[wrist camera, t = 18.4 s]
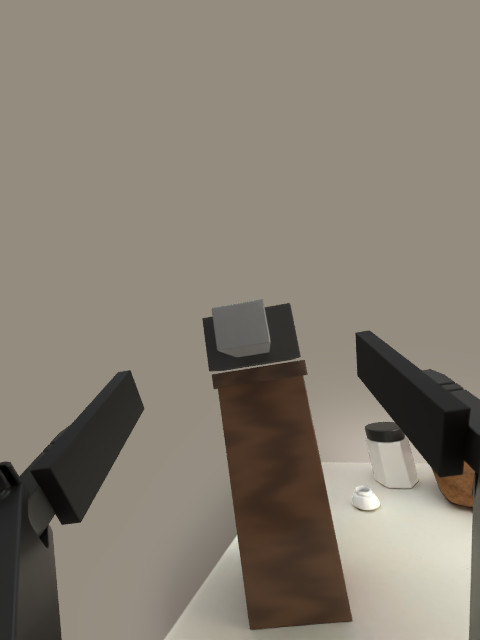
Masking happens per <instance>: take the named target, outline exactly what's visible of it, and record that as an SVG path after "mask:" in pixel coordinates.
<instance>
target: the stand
mask: <svg viewBox="0 0 480 640" xmlns="http://www.w3.org/2000/svg"><path fill="white" fill-rule="evenodd" d="M303 375H307V369H306V364H305V360H300V361H294V362H288V363H282V364H275V365H269V366H263V367H257V368H251V369H244V370H238V371H232V372H225V373H219V374H213V375H212V380H213V387H214V389H218V392H219V400H220V408H221V415H222V422H223V430H224V437H225V445H226V453H227V460H228V467H229V475H230V483H231V490H232V497H233V505H234V512H235V520H236V527H237V535H238V543H239V550H240V558H241V565H242V573H243V580H244V588H245V595H246V603H247V610H248V618H249V625H250V629H261V628H272V627H284V626H296V625H308V624H320V623H332V622H344V621H352V615H351V610H350V605H349V600H348V595H347V590H346V585H345V580H344V575H343V570H342V565H341V560H340V555H339V550H338V545H337V540H336V535H335V530H334V525H333V520H332V515H331V510H330V505H329V500H328V495H327V490H326V485H325V480H324V475H323V470H322V465H321V460H320V456H319V450H318V446H317V440H316V436H315V430H314V425H313V420H312V415H311V411H310V406H309V400H308V396H307V390H306V386H305V381H304V376H303Z"/></svg>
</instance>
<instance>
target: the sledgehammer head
mask: <svg viewBox="0 0 480 640" xmlns="http://www.w3.org/2000/svg"><path fill="white" fill-rule="evenodd" d="M212 315H213V317H208V318H203V327H204V335H205V342H206V350H207V357H208V366H209V371H224V370H231V369H236V368H242V367H249V366H256V365H262V364H268V363H274V362H280V361H287V360H292V359H295V358H299V357H301V356H300V351H299V346H298V341H297V336H296V331H295V326H294V321H293V316H292V311H291V306H290V303H287V304H281V305H276V306H270V307H264V303H263V300H262V299H261V300H255V301H249V302H244V303H238V304H233V305H228V306H222V307H216V308H212Z"/></svg>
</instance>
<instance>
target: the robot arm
mask: <svg viewBox="0 0 480 640" xmlns="http://www.w3.org/2000/svg"><path fill="white" fill-rule="evenodd" d="M356 352H357V375H358V377H359V378H360V379H361V380H362V382H363V383H364V384H365V386H366V387H367V388H368V389H369V391H370V392H371V393H372V394H373V395H374V397H375V398H376V399H377V400H378V402H379V403H380V404H381V405H382V407H383V408H384V409H385V410H386V412H387V413H388V414H389V415H390V417H391V418H392V419H393V420H394V422H395V423H396V424H397V425H398V427H399V428H400V429H401V430H402V431H403V433H404V434H405V435H406V436H407V438H408V439H409V440H410V441H411V443H412V444H413V445H414V446H415V448H416V449H417V450H418V451H419V453H420V454H421V455H422V456H423V458H424V459H425V460H426V461H427V463H428V464H429V465H430V466H431V467H432V469H433V470H434V471H435V472H436V474H437V475H438V476H439V477H448V476H456V475H463V470H464V461H465V462H466V463H467V464H468V465H469V466H470V467H471V468H472V469H473V470H474V471H475V474H474V481H473V488H472V496H473V523H472V557H471V592H470V626H469V640H480V399H478V398H477V397H475V396H474V395H472V394H471V393H470V392H468V391H467V390H464V389H463V388H462V387H461V386H460V385H458V384H457V383H456V384H455V382H454V381H452V380H451V379H450V378H448V377H447V376H445V375H444V374H441V373H439V372H436V371H434V370H431V369H429V370H423V371H422V370H420V369H419V368H418V367H416V366H415V365H414V364H412V363H411V362H410V361H409V360H407V359H406V358H405V357H403V356H402V355H401V354H399V353H398V352H397V351H396V350H394V349H393V348H392V347H390V346H389V345H388V344H386V343H385V342H384V341H383V340H381V339H380V338H378V337H377V336H376V335H375V334H373V333H372V332H371V331H364V332H358V333H356ZM143 410H144V406H143V403H142V401H141V398H140V395H139V393H138V390H137V387H136V384H135V382H134V379H133V376H132V373H131V371H130V370H129V371H123V372H118V373H117V374H116V375H115V376H114V378H113V379H112V380H111V381H110V382H109V383H108V384H107V385H106V386H105V387H104V389H103V390H102V391H101V392H100V393H99V394H98V395H97V396H96V397H95V399H94V400H93V401H92V402H91V403H90V404H89V405H88V407H86V409H85V410H84V411H83V412H82V413H81V414H80V415H79V416H78V418H77V419H76V420H75V421H74V422H73V423H72V424H71V425H70V426H68V427H67V428H66V429H65V430H63V431H62V432H60V433H59V434H58V435H57V436H56V437H55V438H54V439H53V441H52V442H51V443H50V445H48V446H47V447H46V448H45V449H44V450H43V452H42V453H41V454H40V455H39V456H38V457H37V458H36V459H35V460H34V461H33V462H32V464H31V465H30V466H29V467H28V468H27V469H26V470H25V471H24V472H23V473H22V474H21V475H20V477H19V475H18V474H17V472H16V471H15V469H14V467H13V466H12V464H11V462H1V463H0V640H62V639H61V627H60V615H59V603H58V591H57V580H56V568H55V556H54V545H53V533H52V529H51V527H50V526H49V523H50V521H51V520H52V518H53V517H54V515H55V514H56V516H57V517H58V519H59V521H60V522H61V524H62V525H64V524H72V523H80V522H81V521H82V519H83V518H84V516H85V514H86V512H87V510H88V508H89V507H90V505H91V503H92V501H93V499H94V498H95V496H96V494H97V492H98V491H99V489H100V487H101V485H102V484H103V482H104V480H105V478H106V476H107V475H108V473H109V471H110V469H111V467H112V465H113V464H114V462H115V460H116V459H117V457H118V455H119V453H120V451H121V449H122V448H123V446H124V444H125V442H126V440H127V439H128V437H129V435H130V433H131V432H132V430H133V428H134V426H135V425H136V423H137V421H138V419H139V417H140V415H141V414H142V412H143Z"/></svg>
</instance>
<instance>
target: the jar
mask: <svg viewBox="0 0 480 640" xmlns="http://www.w3.org/2000/svg"><path fill="white" fill-rule="evenodd" d="M365 430H366V435H367V438H366V443H367V447H368V451H369V456H370V460H371V464H372V468H373V473H374V477H375V480H376V481H378V482H379V483H381V484H383V485H384V486H386V487H388V488H412V487H413V486H414V485H415V484H416V483H417V482H418V481H419V478H418V474H417V471H416V467H415V463H414V460H413V456H412V452H411V449H410V445H409V441H408V438H407V436H405V434H404V433H403V431H402V430H401V429H400V428H399V427H398V425H397V424H396V423H394V422H378V423H372V424H368V425H367V426H365Z"/></svg>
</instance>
